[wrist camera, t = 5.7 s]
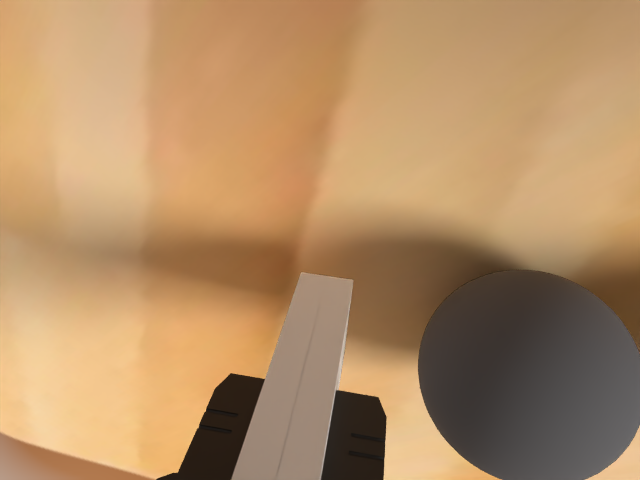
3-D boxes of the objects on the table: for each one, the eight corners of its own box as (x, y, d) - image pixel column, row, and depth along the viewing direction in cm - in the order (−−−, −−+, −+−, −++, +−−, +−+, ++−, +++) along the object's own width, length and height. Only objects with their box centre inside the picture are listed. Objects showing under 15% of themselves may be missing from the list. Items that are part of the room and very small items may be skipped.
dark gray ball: (698, 439, 8) (690, 284, 12) (407, 304, 10) (481, 210, 14) (574, 580, 11) (600, 418, 15) (369, 451, 13) (439, 340, 17)
